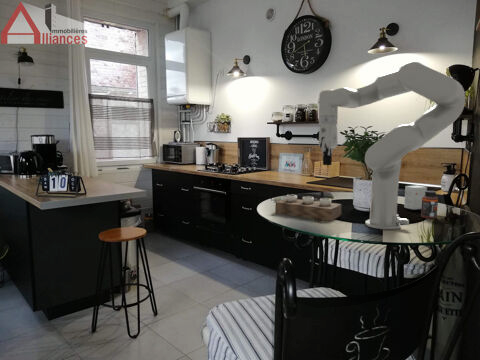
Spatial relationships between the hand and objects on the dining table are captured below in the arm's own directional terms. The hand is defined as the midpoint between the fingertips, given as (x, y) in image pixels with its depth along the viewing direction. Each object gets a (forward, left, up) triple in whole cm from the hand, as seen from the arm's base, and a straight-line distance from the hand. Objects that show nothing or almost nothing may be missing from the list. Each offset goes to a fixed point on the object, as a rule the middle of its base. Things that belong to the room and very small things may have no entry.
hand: (327, 164), depth 147 cm
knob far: (+16, 0, -21) cm, 27 cm away
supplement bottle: (-37, -23, -23) cm, 49 cm away
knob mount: (+8, 0, -22) cm, 24 cm away
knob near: (0, 0, -21) cm, 21 cm away
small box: (-29, -41, -23) cm, 55 cm away
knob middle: (+8, 0, -21) cm, 23 cm away
